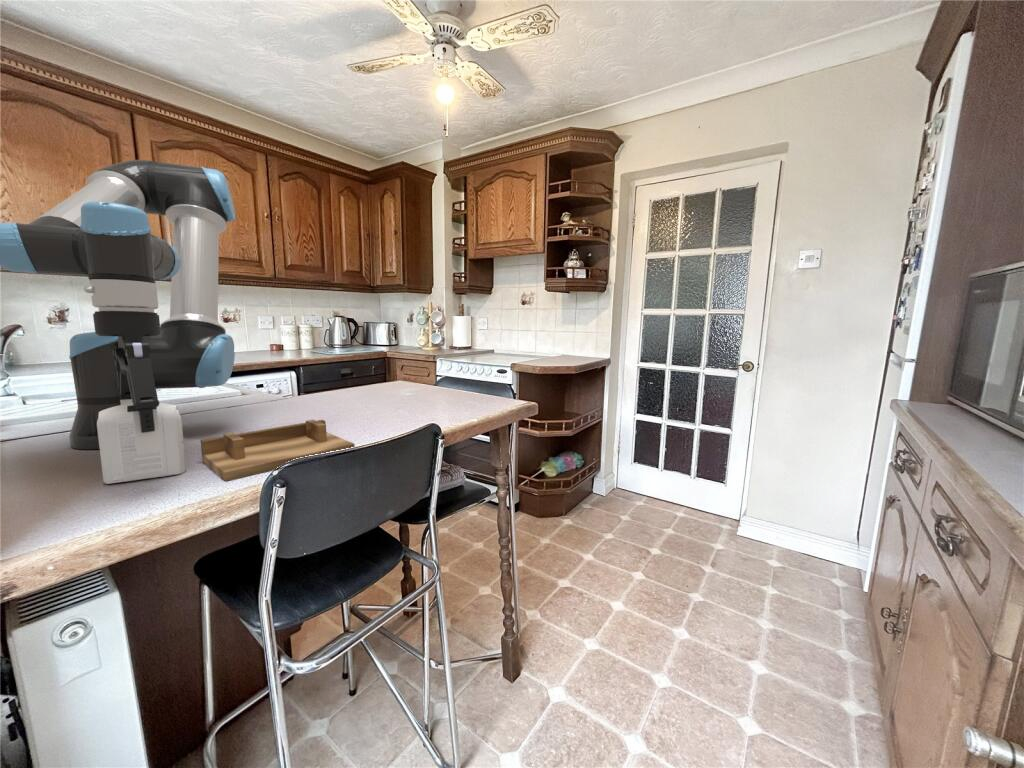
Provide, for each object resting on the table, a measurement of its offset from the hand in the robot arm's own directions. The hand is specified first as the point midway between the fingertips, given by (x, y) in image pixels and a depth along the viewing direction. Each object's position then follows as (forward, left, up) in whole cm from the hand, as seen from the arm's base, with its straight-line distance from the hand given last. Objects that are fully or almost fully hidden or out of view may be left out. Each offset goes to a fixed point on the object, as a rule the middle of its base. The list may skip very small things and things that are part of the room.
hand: (142, 444), depth 67 cm
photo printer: (0, 0, -6) cm, 6 cm away
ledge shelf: (+4, +19, -6) cm, 20 cm away
